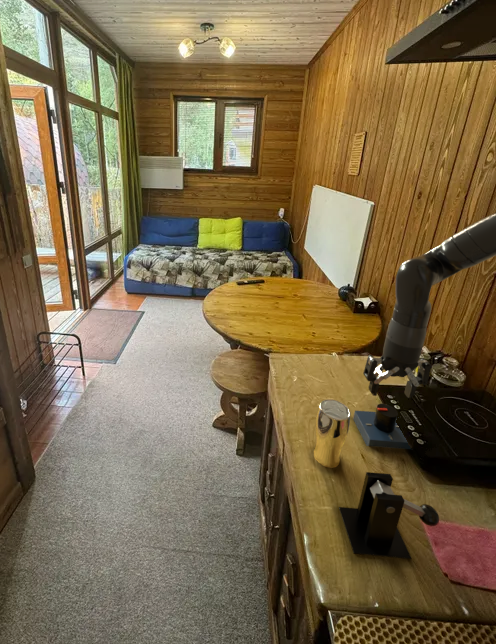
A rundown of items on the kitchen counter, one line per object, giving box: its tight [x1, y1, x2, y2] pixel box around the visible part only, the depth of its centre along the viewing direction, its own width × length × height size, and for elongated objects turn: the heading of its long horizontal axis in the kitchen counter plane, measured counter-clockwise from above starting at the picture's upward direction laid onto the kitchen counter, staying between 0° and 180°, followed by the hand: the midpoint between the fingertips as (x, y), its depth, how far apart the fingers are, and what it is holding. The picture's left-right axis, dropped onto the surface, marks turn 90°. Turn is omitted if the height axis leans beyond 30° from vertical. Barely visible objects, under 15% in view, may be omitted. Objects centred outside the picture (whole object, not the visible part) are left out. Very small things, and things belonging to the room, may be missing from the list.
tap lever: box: [370, 481, 440, 527], centre depth 56 cm, size 13×3×3 cm, turn 84°
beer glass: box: [313, 398, 352, 468], centre depth 72 cm, size 7×7×15 cm
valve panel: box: [353, 410, 412, 450], centre depth 81 cm, size 11×10×3 cm
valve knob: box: [373, 403, 399, 433], centre depth 80 cm, size 5×5×5 cm
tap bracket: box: [338, 471, 412, 560], centre depth 57 cm, size 10×8×13 cm
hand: (390, 394), depth 78 cm, fingers open, 8 cm apart
